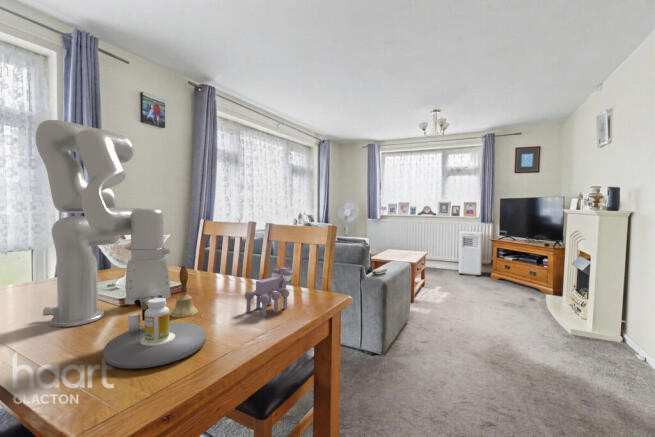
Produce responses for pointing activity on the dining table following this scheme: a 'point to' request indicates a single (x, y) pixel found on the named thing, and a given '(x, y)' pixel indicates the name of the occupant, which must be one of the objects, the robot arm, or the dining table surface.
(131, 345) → the turntable
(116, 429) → the dining table surface
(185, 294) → the hand bell
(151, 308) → the supplement bottle
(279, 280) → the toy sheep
